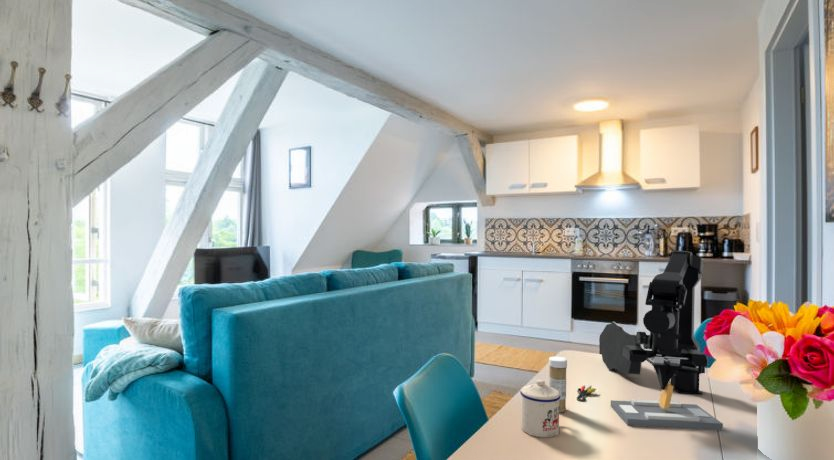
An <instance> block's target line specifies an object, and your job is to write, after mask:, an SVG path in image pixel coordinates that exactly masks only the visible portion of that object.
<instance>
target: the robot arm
mask: <svg viewBox="0 0 834 460" xmlns="http://www.w3.org/2000/svg"><path fill="white" fill-rule="evenodd" d="M704 270H705V264H704V260H703V259H702V258H701V257H700V256H697V255H694V254H693V252H691V251H688V250H673V251H672V250H671V251H670V255H669V256H668V261H667V264H666V266H665V269H664V270H663V273H660V274H659V273H658V274H656V275H655V276H654V277H653V279H652V281H650V282H649V284H648V289H647V293H646V298H645V305H646V306H651V310H648V311H647V312H646V313H645V314H644V316H643V318H642V323H643V325H644V327H645V329H646V330H647V331H649V334H647V333H646V331H637V332H636V343H637V344H641V345H643V348H641V347H642V346H641V347H639V346H630V345H625V346H624V347H623V352H622V355H623V356H624V357H625V358H627V359H628V360H629V361H634V362H642V363H644V362H645V361H646V362H648V363H649V364H651V366H652V367H653V369H654V371H655V373H656V376H657V377H656V378H657V380H658V383H659V386H660V390H661V391H662V390H664V389H665V387H666V385H667V384H668V383H670V384H671V385H672V386H674V387H673V390H675V391H676V392H677V393H679V394H698V395H702V394H703V391H701V390H700V375H701V374H706V368H707V367H709V358H708V355H706V354H705V353H703V352H702V351H701V345H700V343H699V342H698V341H697V339H696V338H695V337H694V336H695V293H696V292H695V290H696V289H695V288H696V286H697V285H698V284H699V282H701V280H702V275H704Z"/></svg>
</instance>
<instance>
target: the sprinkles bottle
mask: <svg viewBox="0 0 834 460" xmlns="http://www.w3.org/2000/svg"><path fill="white" fill-rule="evenodd" d="M548 366H549V370H548V372H549V374H548V386H550V387H552V388H554V389H556V390H557V391H558V392H559V393H560V399H559V413H564V412H566V410H567V407H566V404H567V403H566V401H567V399H566V398H567V367H568V360H567V359H566V358H565V357H564V356H562V357H561V356H550V357H549V358H548Z"/></svg>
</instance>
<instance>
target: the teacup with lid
mask: <svg viewBox="0 0 834 460" xmlns="http://www.w3.org/2000/svg"><path fill="white" fill-rule="evenodd" d="M520 397H521V402H520V428H521V429H522V431H523V432H525V433H526V434H528V435H530V436H532V437H537V438H551V437H552V438H553V437H554V436H557V435H558V434H559V431H560V427H559V426H560V412H559V399H560V393H559V392H558V391H557V390H556V389H554V388H552V387H550V386H549V384H546V382H545V380H544V379H536V381H535V383H532V384H528V385H525V386H523V387H522V388H521V390H520Z"/></svg>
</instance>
